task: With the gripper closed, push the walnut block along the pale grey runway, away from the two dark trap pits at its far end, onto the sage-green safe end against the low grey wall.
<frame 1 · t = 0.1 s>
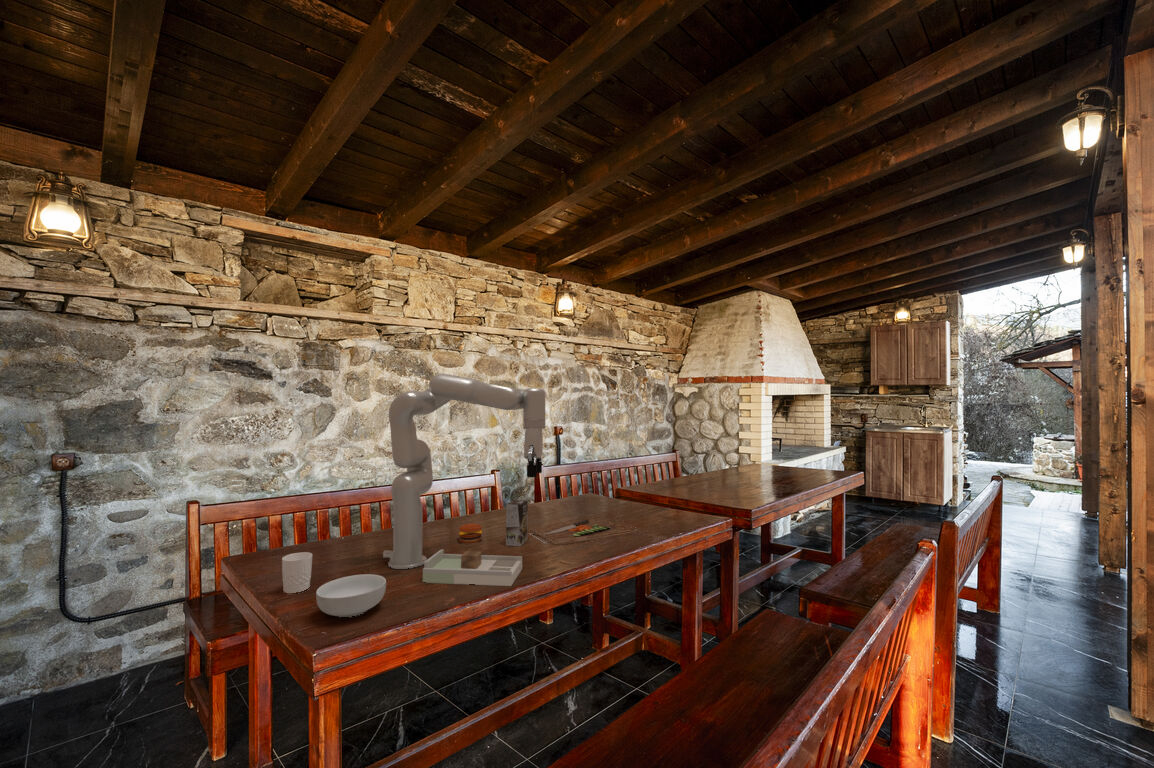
hand: (534, 475, 161), 31 cm above the table, tool pointing down, fingers open, 9 cm apart
white cup: (296, 590, 142), on the table
hamburger: (470, 540, 193), on the table
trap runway: (474, 575, 153), on the table
cereal bowl: (351, 612, 127), on the table
walnut block: (471, 566, 153), point 3 cm above the table, touching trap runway
chopping board: (584, 533, 205), on the table
coffee box: (517, 543, 189), on the table
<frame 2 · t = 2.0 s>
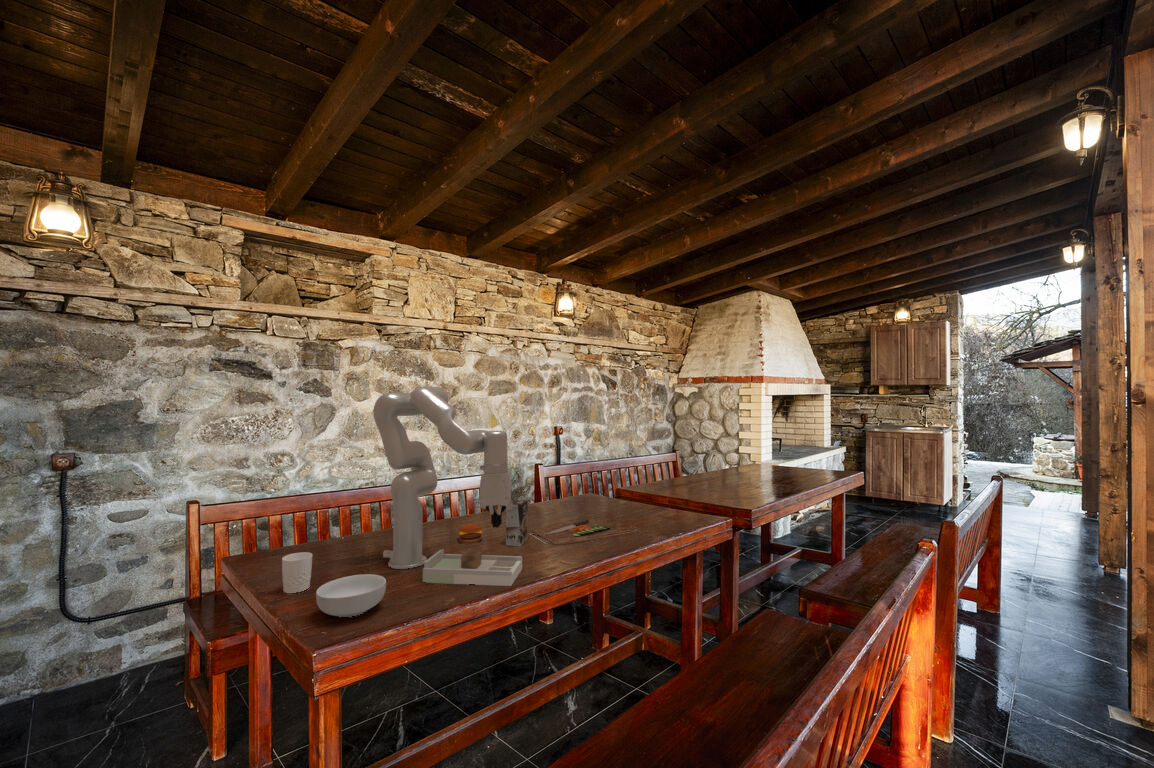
hand: (496, 526, 153), 16 cm above the table, tool pointing down, fingers closed
nothing on the table moved.
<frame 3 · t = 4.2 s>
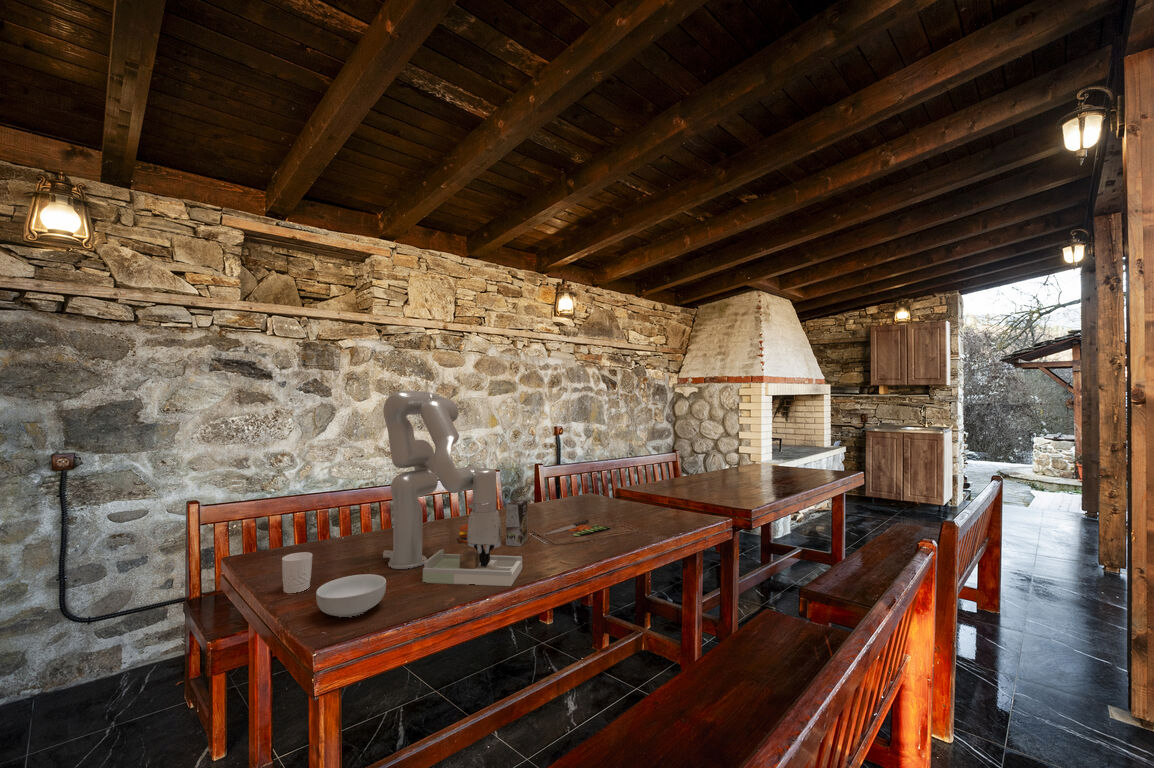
hand: (484, 564, 153), 4 cm above the table, tool pointing down, fingers closed
walnut block: (469, 566, 153), point 3 cm above the table, touching gripper, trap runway
everything else where it was.
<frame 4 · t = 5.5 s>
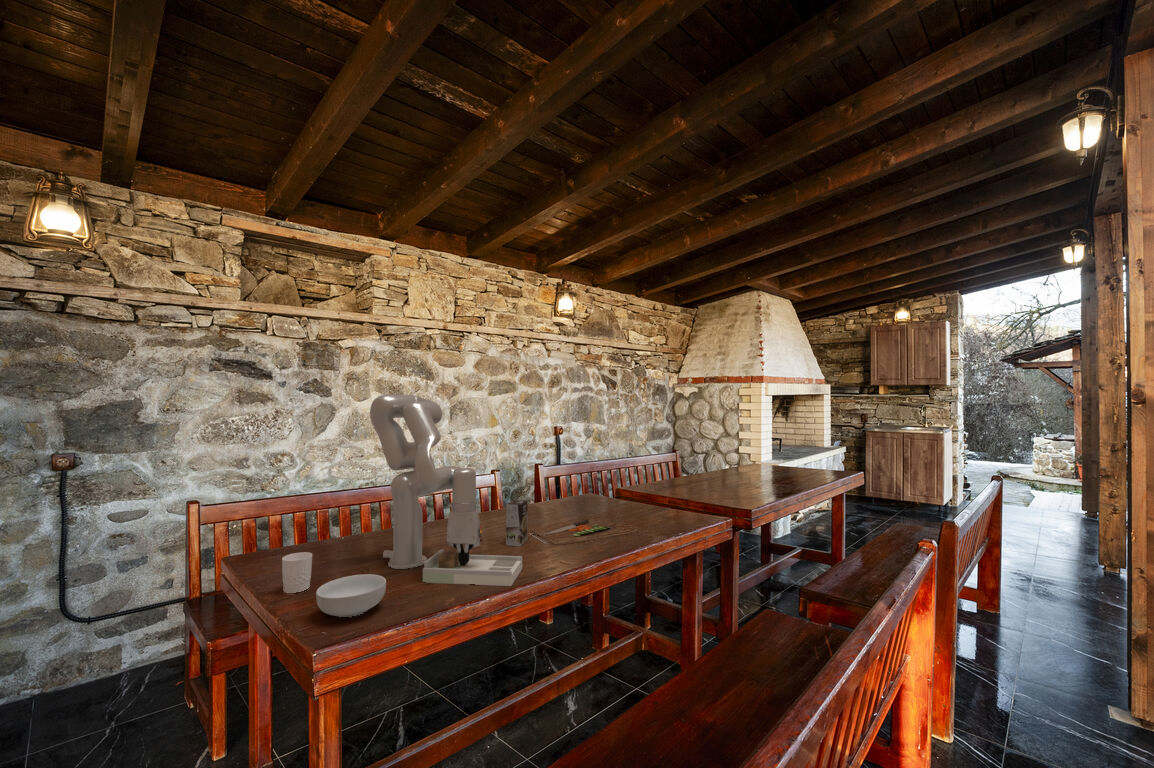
hand: (463, 564, 153), 4 cm above the table, tool pointing down, fingers closed
walnut block: (449, 565, 154), point 3 cm above the table, touching gripper, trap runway
everything else where it was.
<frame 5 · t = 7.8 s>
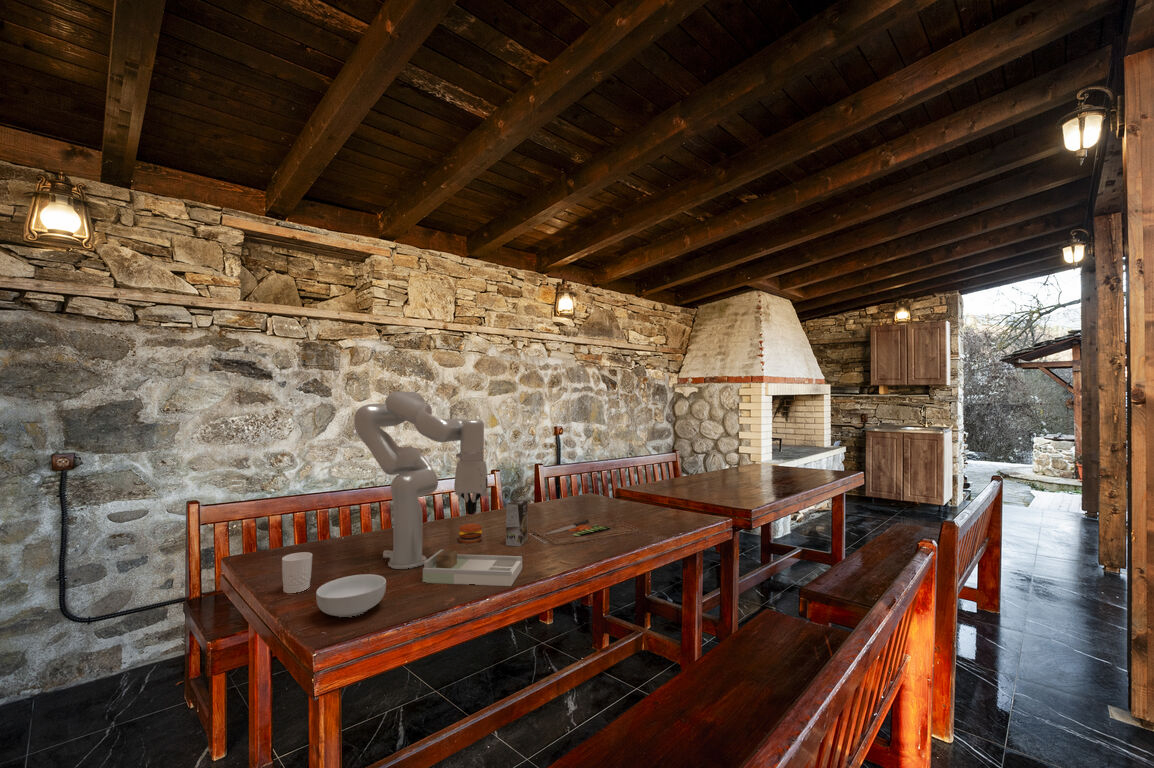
hand: (471, 513, 155), 19 cm above the table, tool pointing down, fingers closed
walnut block: (446, 565, 154), point 3 cm above the table, touching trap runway
everything else where it was.
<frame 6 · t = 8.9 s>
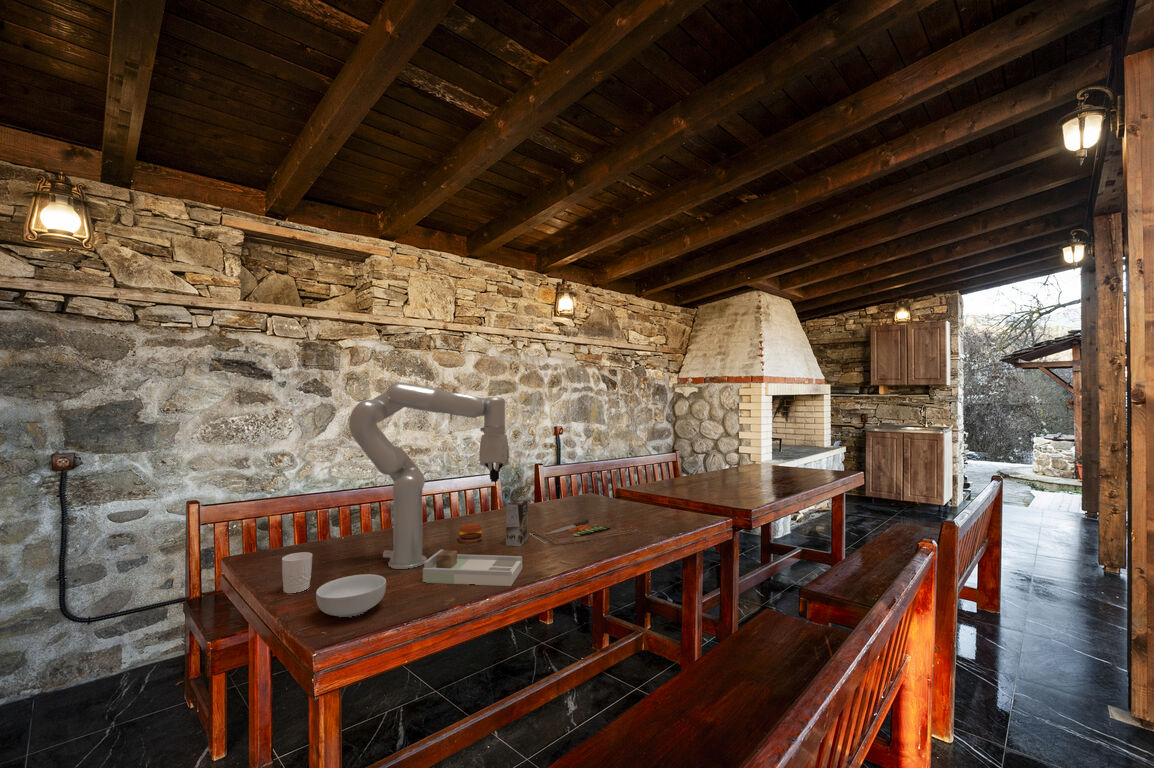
hand: (494, 481, 173), 27 cm above the table, tool pointing down, fingers closed
nothing on the table moved.
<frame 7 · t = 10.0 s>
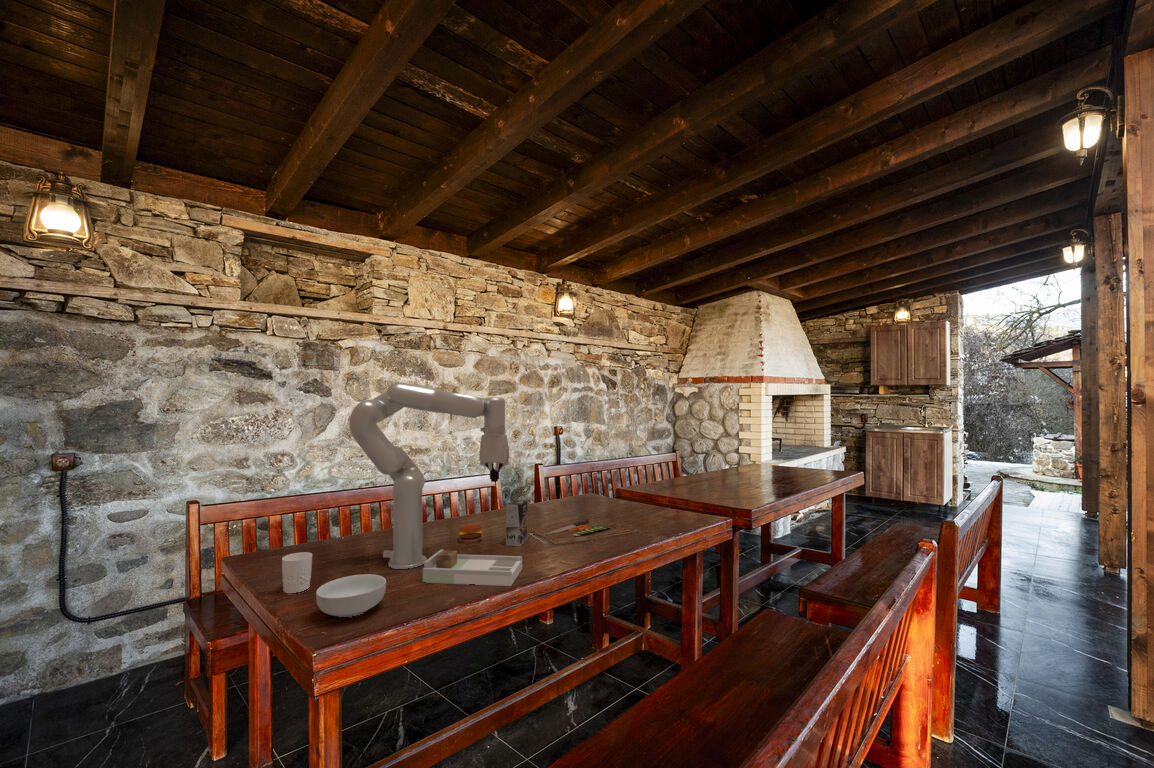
hand: (494, 481, 173), 27 cm above the table, tool pointing down, fingers closed
nothing on the table moved.
at the end: walnut block inside the target area on the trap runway (0.5 cm from its centre), point 3.0 cm above the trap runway's base; walnut block tilted 0°; walnut block moved 8.2 cm from its start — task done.
